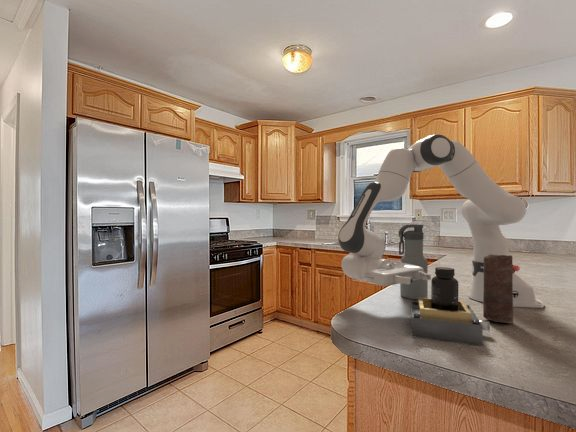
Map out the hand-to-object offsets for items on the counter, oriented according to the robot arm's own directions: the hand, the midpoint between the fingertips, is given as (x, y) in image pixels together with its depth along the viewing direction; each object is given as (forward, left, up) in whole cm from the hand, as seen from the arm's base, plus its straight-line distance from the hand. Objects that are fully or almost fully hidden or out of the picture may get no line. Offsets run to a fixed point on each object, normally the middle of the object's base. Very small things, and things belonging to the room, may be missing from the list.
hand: (420, 279), depth 91 cm
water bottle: (+2, -30, -13) cm, 33 cm away
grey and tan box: (-7, +4, -13) cm, 15 cm away
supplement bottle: (-6, +2, -8) cm, 10 cm away
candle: (-21, -9, -13) cm, 27 cm away
